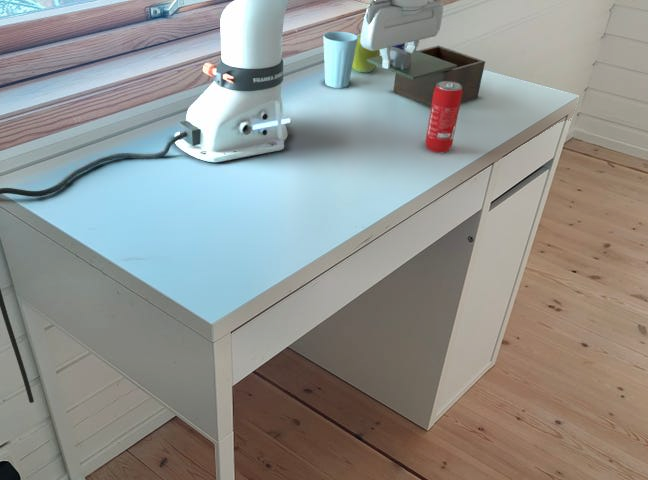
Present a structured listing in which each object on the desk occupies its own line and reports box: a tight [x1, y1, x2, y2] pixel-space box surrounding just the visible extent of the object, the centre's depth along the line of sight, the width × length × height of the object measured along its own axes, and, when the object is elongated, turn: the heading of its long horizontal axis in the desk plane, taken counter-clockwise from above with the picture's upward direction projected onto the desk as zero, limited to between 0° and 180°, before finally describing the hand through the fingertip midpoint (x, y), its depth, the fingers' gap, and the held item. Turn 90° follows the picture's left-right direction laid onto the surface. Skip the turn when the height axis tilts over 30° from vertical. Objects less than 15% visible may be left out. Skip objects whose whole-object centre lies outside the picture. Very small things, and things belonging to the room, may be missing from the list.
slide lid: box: [367, 47, 457, 80], centre depth 144 cm, size 14×14×4 cm
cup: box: [323, 31, 358, 89], centre depth 155 cm, size 8×8×10 cm
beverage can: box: [425, 81, 463, 154], centre depth 129 cm, size 5×5×12 cm
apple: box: [352, 34, 381, 74], centre depth 164 cm, size 8×8×10 cm
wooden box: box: [392, 45, 486, 108], centre depth 153 cm, size 14×14×8 cm
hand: (396, 65), depth 143 cm, fingers open, 4 cm apart
